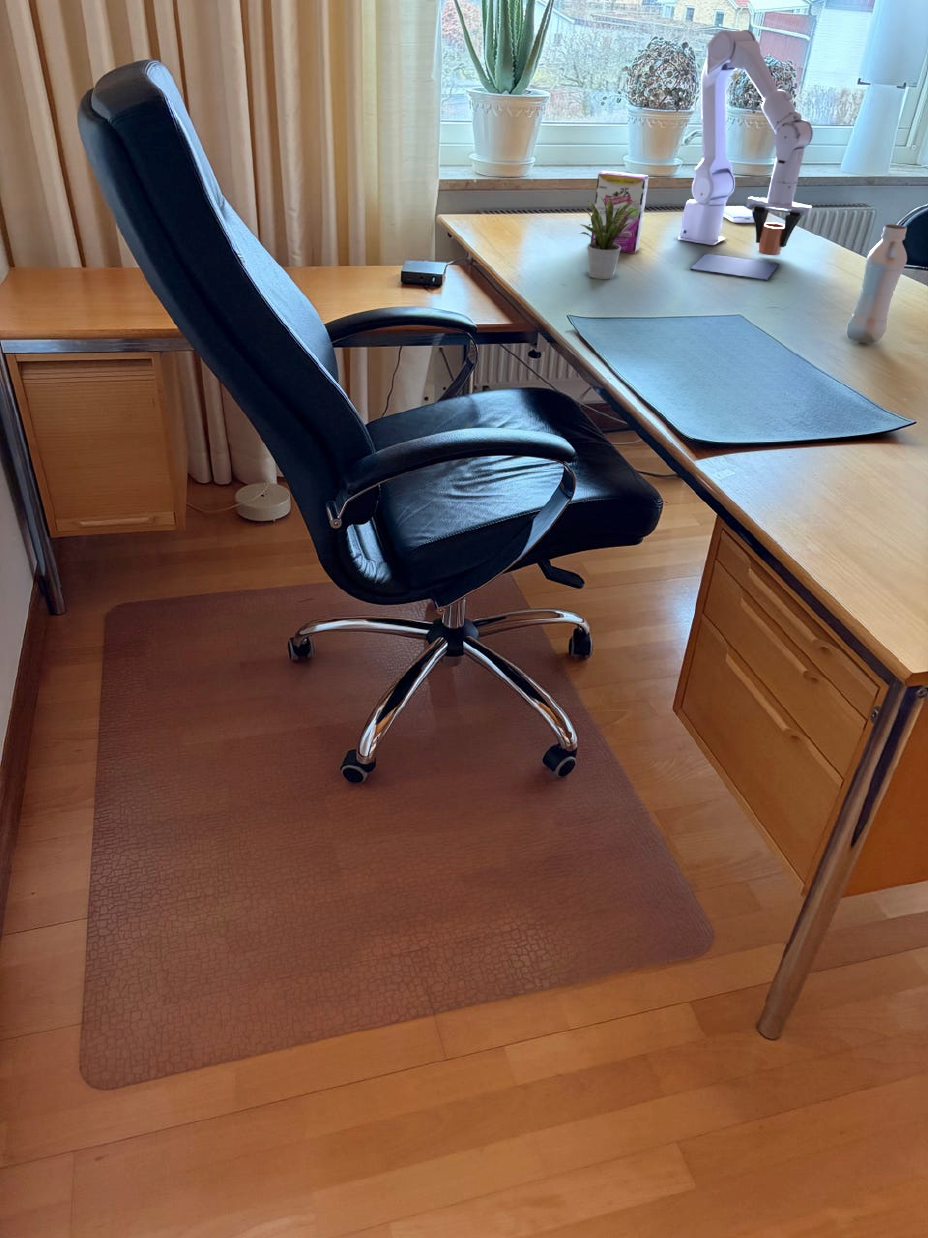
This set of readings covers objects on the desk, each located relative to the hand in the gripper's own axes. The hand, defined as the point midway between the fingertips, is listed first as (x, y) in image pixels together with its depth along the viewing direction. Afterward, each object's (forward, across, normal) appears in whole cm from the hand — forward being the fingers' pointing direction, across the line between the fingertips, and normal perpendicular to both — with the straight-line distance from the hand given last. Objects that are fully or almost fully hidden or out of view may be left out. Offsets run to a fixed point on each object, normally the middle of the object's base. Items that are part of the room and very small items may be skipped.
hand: (770, 244), depth 215 cm
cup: (+2, 0, 0) cm, 2 cm away
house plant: (+3, -23, -39) cm, 45 cm away
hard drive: (+3, -20, +36) cm, 41 cm away
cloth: (+3, -3, -14) cm, 15 cm away
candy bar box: (+3, -32, -17) cm, 36 cm away
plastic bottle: (+3, +34, -48) cm, 59 cm away
